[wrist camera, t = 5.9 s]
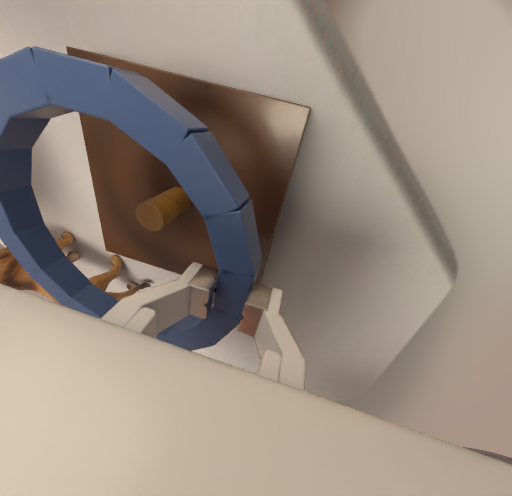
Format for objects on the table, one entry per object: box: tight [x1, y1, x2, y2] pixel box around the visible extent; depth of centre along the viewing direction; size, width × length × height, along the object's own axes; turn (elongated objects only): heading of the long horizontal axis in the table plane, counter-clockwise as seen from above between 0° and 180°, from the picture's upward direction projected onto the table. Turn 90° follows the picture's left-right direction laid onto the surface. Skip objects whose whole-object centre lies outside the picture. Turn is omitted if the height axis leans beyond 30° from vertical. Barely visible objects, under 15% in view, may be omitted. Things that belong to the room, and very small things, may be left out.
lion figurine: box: [0, 232, 151, 307], centre depth 23 cm, size 15×5×9 cm, turn 72°
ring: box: [0, 46, 262, 351], centre depth 12 cm, size 15×15×2 cm
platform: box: [66, 46, 311, 283], centre depth 17 cm, size 16×16×6 cm
